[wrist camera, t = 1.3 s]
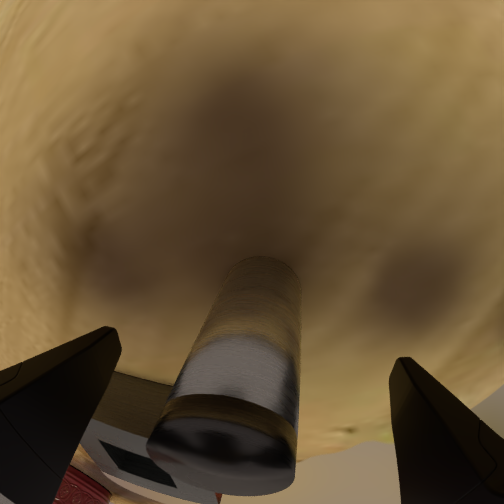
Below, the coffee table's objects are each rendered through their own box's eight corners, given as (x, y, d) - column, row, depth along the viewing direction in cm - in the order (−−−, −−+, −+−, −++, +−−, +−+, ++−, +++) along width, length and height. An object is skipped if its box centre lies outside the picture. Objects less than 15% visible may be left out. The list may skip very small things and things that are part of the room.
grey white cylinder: (304, 259, 11) (306, 446, 4) (297, 326, 13) (285, 501, 5) (223, 254, 12) (128, 415, 4) (225, 320, 13) (163, 479, 6)
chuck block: (221, 395, 15) (204, 452, 11) (228, 467, 19) (218, 507, 15) (9, 331, 17) (-19, 356, 14) (50, 408, 21) (31, 432, 17)
